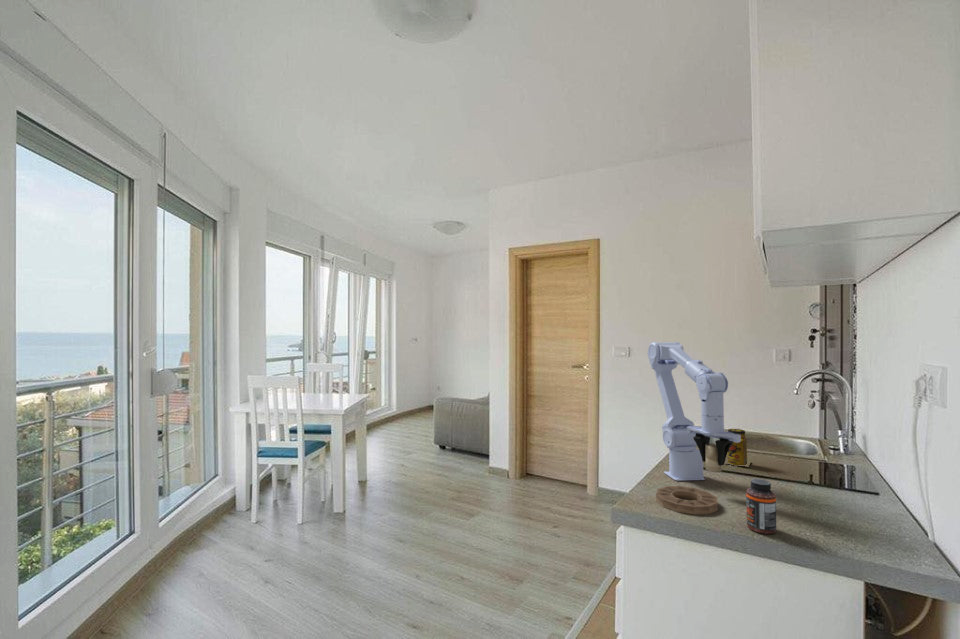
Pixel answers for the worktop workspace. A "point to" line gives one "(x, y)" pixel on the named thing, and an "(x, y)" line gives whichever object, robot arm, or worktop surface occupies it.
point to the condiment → (738, 449)
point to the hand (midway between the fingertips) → (713, 462)
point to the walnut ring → (700, 505)
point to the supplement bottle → (761, 507)
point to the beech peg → (712, 458)
